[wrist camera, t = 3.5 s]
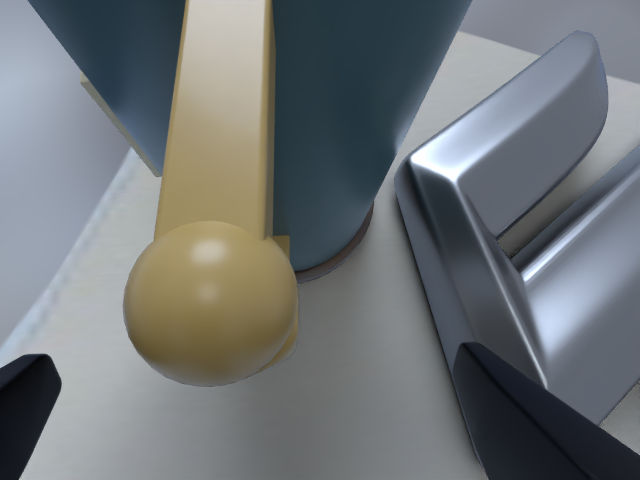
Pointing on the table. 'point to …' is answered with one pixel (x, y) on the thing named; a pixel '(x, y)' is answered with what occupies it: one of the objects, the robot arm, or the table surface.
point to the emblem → (546, 248)
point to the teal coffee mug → (249, 151)
